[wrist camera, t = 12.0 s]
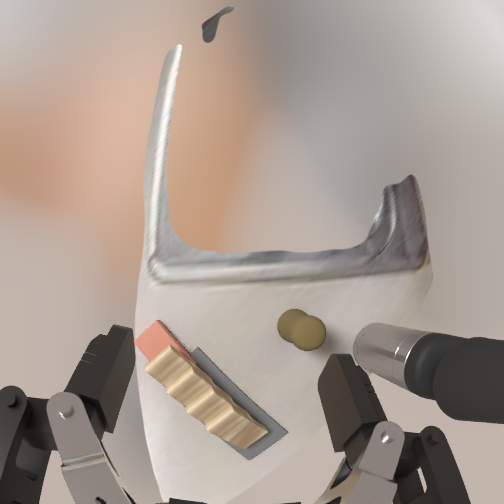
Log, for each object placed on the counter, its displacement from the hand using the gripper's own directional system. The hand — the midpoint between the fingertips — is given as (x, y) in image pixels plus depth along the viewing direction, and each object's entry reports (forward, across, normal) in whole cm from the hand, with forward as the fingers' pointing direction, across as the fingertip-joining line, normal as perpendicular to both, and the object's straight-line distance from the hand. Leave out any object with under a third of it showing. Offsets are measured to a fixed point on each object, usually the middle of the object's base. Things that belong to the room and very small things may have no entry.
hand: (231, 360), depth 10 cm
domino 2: (+22, +1, +32) cm, 39 cm away
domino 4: (+19, -6, +37) cm, 42 cm away
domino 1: (+24, +4, +30) cm, 38 cm away
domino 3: (+20, -3, +35) cm, 40 cm away
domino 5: (+17, -10, +39) cm, 44 cm away
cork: (+30, -14, +21) cm, 39 cm away
